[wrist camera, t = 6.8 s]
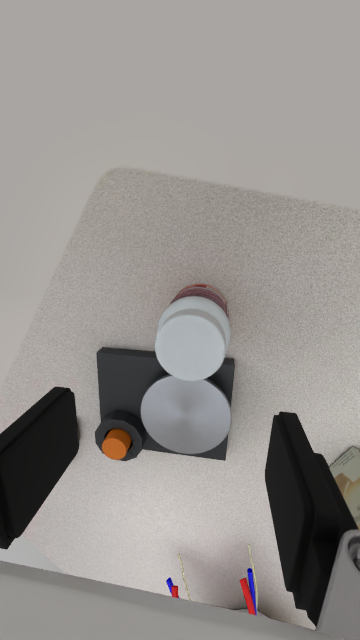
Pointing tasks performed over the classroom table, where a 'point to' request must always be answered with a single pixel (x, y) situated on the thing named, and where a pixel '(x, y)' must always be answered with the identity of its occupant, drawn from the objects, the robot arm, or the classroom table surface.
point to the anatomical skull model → (248, 593)
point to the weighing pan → (186, 414)
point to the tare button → (116, 444)
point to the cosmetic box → (349, 480)
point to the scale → (128, 391)
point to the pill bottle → (193, 333)
